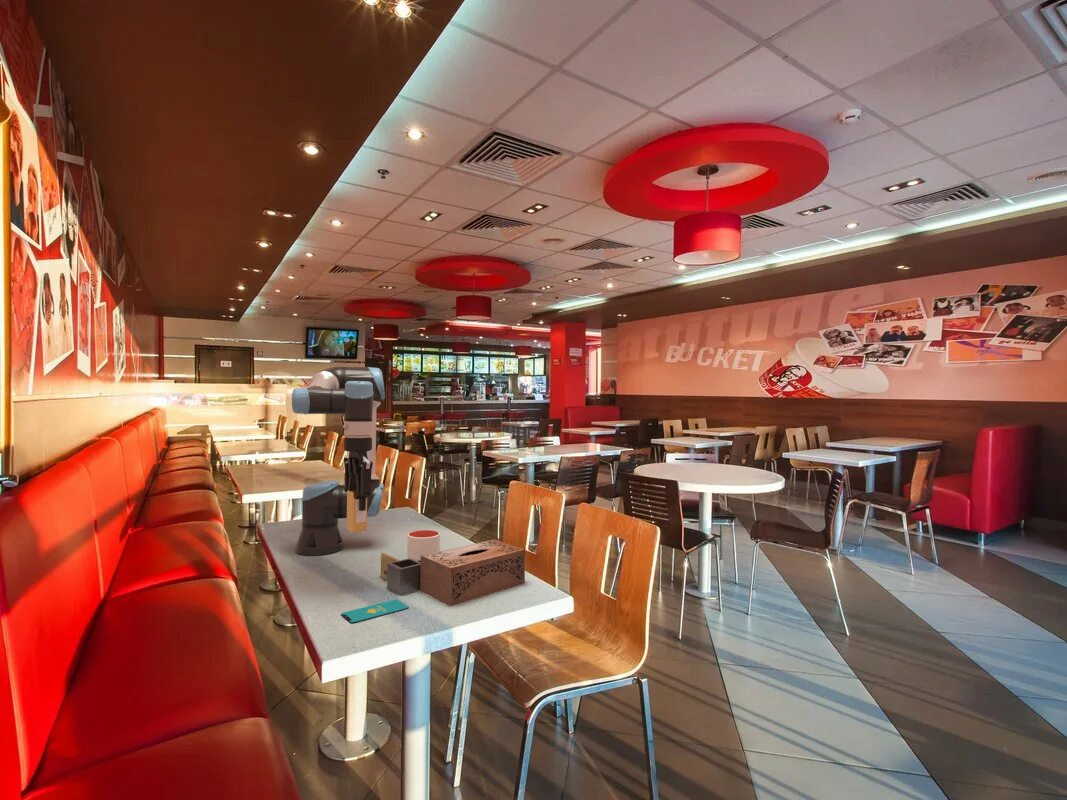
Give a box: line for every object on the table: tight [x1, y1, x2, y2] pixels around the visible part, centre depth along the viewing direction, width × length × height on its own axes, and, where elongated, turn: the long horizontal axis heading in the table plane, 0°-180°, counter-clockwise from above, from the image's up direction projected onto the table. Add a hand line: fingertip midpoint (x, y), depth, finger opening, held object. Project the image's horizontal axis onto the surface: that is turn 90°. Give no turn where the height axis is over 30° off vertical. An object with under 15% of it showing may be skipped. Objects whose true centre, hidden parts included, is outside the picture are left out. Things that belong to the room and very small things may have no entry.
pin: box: [346, 489, 368, 533], centre depth 147 cm, size 4×4×11 cm
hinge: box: [380, 552, 421, 596], centre depth 153 cm, size 17×17×7 cm
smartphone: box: [340, 599, 410, 625], centre depth 130 cm, size 7×1×15 cm
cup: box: [406, 529, 441, 561], centre depth 168 cm, size 10×10×10 cm
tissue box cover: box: [419, 539, 526, 607], centre depth 149 cm, size 26×14×10 cm, turn 133°
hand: (356, 520), depth 147 cm, fingers closed on pin, 4 cm apart
